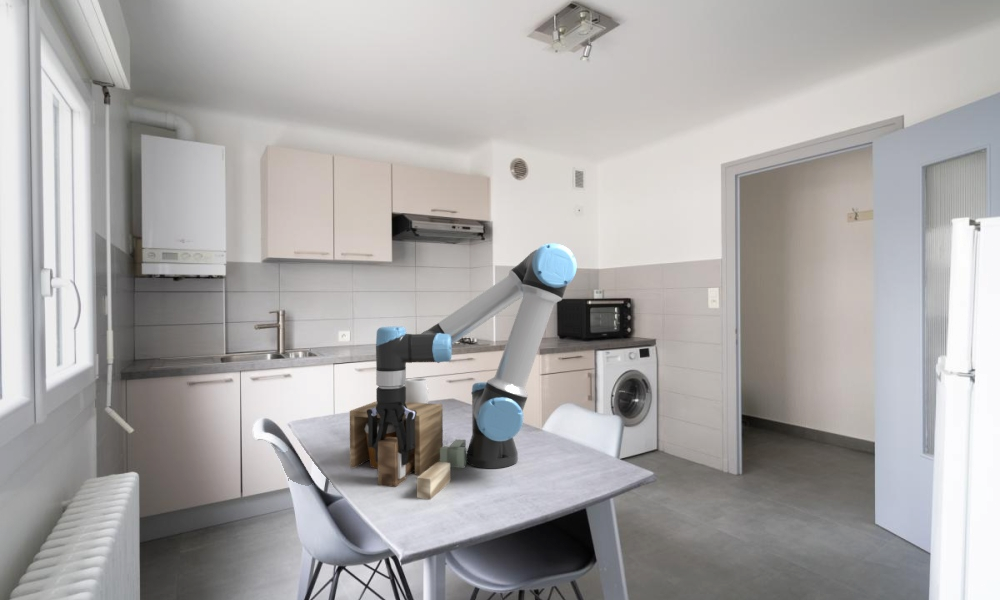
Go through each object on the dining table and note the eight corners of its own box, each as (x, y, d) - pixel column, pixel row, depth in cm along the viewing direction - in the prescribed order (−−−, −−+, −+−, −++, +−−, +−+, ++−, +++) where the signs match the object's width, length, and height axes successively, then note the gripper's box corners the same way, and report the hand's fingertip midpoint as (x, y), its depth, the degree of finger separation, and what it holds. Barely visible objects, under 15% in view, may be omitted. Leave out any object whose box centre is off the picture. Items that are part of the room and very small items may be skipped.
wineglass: (417, 448, 155) (417, 382, 155) (397, 444, 160) (397, 380, 160) (434, 441, 162) (434, 378, 162) (415, 437, 167) (415, 376, 167)
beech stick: (450, 482, 126) (450, 462, 126) (430, 500, 114) (430, 479, 114) (438, 480, 127) (437, 461, 127) (417, 498, 115) (417, 477, 115)
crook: (433, 459, 143) (433, 422, 144) (395, 486, 122) (395, 443, 122) (386, 454, 148) (385, 418, 148) (341, 480, 127) (341, 438, 127)
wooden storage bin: (442, 457, 145) (442, 404, 145) (419, 474, 131) (419, 415, 131) (378, 451, 152) (378, 400, 152) (350, 467, 137) (349, 410, 137)
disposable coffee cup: (390, 471, 134) (389, 427, 134) (358, 469, 136) (358, 426, 136) (403, 460, 143) (403, 419, 143) (373, 458, 145) (373, 418, 145)
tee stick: (472, 456, 146) (472, 440, 146) (463, 467, 136) (463, 449, 136) (449, 455, 147) (449, 439, 147) (440, 466, 138) (439, 448, 138)
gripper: (429, 385, 126) (429, 474, 126) (369, 382, 132) (369, 467, 132) (415, 390, 119) (416, 484, 119) (352, 386, 125) (353, 477, 124)
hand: (391, 475), depth 125 cm, fingers closed on crook, 5 cm apart
